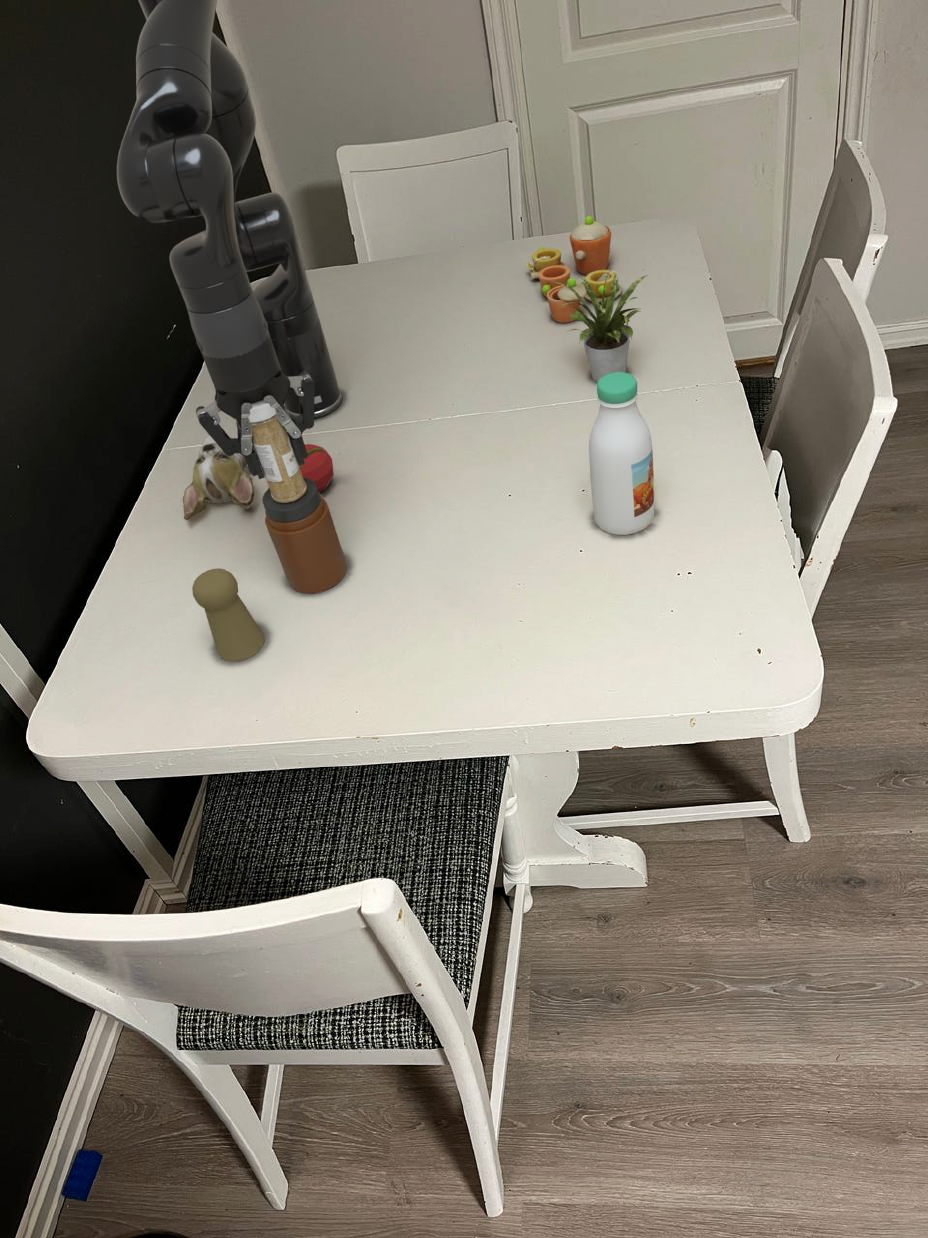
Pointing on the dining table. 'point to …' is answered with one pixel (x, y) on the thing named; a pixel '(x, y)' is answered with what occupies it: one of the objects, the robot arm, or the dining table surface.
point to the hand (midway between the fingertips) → (280, 467)
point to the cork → (227, 616)
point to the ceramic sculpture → (217, 480)
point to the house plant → (605, 330)
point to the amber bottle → (306, 541)
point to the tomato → (317, 466)
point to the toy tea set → (590, 260)
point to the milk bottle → (621, 459)
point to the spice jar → (276, 454)
